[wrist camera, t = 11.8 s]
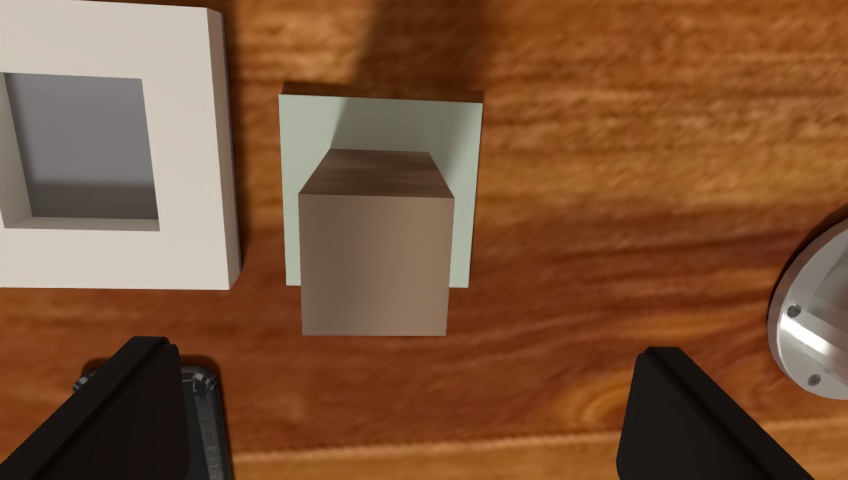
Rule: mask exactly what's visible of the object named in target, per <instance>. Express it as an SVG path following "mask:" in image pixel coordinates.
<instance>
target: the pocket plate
mask: <svg viewBox="0 0 848 480" xmlns="http://www.w3.org/2000/svg"><path fill="white" fill-rule="evenodd" d="M241 272H242V267H241V253H240V239H239V225H238V211H237V197H236V183H235V169H234V155H233V141H232V126H231V112H230V98H229V84H228V70H227V56H226V42H225V28H224V14H222V13H219V12H217V11H214V10H211V9H208V8H201V7H184V6H167V5H150V4H133V3H116V2H98V1H81V0H0V287H39V288H127V289H215V290H229V289H230V288H231V286H232V285H233V284H234V282H235V281H236V279H237V278H238V277H239V275H240V274H241Z"/></svg>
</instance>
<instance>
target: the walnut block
mask: <svg viewBox="0 0 848 480" xmlns="http://www.w3.org/2000/svg"><path fill="white" fill-rule="evenodd" d="M454 205H455V198H454V196H453V194H452V192H451V190H450V189H449V187H448V185H447V183H446V182H445V180H444V178H443V176H442V175H441V173H440V171H439V169H438V168H437V166H436V164H435V162H434V161H433V159H432V157H431V155H430V154H429V152H412V151H383V150H355V149H329V150H328V152H327V153H326V155H325V156H324V158H323V159H322V160H321V162H320V163H319V165H318V166H317V168H316V169H315V170H314V172H313V173H312V175H311V176H310V178H309V179H308V180H307V182H306V183H305V185H304V186H303V188H302V189H301V190H300V192H299V193H298V212H299V243H300V273H301V304H302V335H406V336H446V325H447V310H448V295H449V280H450V265H451V250H452V235H453V220H454Z"/></svg>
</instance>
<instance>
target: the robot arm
mask: <svg viewBox="0 0 848 480" xmlns="http://www.w3.org/2000/svg"><path fill="white" fill-rule="evenodd" d="M767 333H768V343H769V347H770V350H771V353H772V356H773V358H774V360H775V361H776V363H777V364H778V366H779V368H780V369H781V370H782V371H783V372H784V373H785V374H786V375H787V376H788V377H789V378H790V379H791V380H793V381H794V382H795V383H797V384H798V385H799V386H801V387H802V388H804V389H805V390H807V391H809V392H811V393H814V394H816V395H819V396H821V397H826V398H832V399H837V400H844V399H848V219H846V220H844V221H842V222H840V223H838V224H836V225H835V226H833V227H831V228H830V229H828V230H827V231H826V232H824V233H823V234H822V235H820V236H819V237H817V238H816V239H815V240H813V241H812V242H811V243H810V244H809V245H808V246H807V247H806V248H805V249H804V250H803V251H802V252H801V253H800V254H799V255H798V256H797V258H796V259H795V260H794V262H793V263H792V264H791V266H790V267H789V268H788V270H787V271H786V272H785V274H784V276H783V278H782V280H781V281H780V283H779V285H778V287H777V289H776V291H775V294H774V297H773V300H772V303H771V306H770V309H769V316H768V323H767ZM190 461H191V453H190V445H189V436H188V427H187V419H186V410H185V401H184V393H183V384H182V376H181V367H180V358H179V351H178V347H177V346H176V345H175V344H170V342H169V340H168V339H167V338H166V337H150V336H134V337H132V338H131V339H130V340H129V341H128V342H127V343H126V344H125V345H124V346H123V347H122V348H120V349H119V350H118V351H117V352H116V353H115V354H114V355H113V356H112V357H111V358H110V359H109V360H108V361H107V362H106V363H105V364H104V365H103V366H102V367H101V368H100V369H99V370H98V371H97V372H96V373H95V374H94V375H93V376H91V377H90V378H89V379H88V380H87V381H86V382H85V383H84V384H83V385H82V386H81V387H80V388H79V389H78V390H77V391H76V392H75V393H74V394H73V395H72V396H71V397H70V398H69V399H68V400H67V401H66V402H65V403H64V404H62V405H61V406H60V407H59V408H58V409H57V410H56V411H55V412H54V413H53V414H52V415H51V416H50V417H49V418H48V419H47V420H46V421H45V422H44V423H43V424H42V425H41V426H40V427H39V428H38V429H37V430H36V431H35V432H33V433H32V434H31V435H30V436H29V437H28V438H27V439H26V440H25V441H24V442H23V443H22V444H21V445H20V446H19V447H18V448H17V449H16V450H15V451H14V452H13V453H12V454H11V455H10V456H9V457H8V458H7V459H6V460H5V461H3V462H2V463H1V464H0V480H185V478H186V476H187V474H188V471H189V467H190ZM616 467H617V472H618V476H619V478H620V480H815V479H814V478H813V477H812V476H811V475H810V474H809V473H808V472H807V471H805V470H804V469H803V468H802V467H801V466H800V465H799V464H798V463H797V462H796V461H795V460H794V459H793V458H792V457H791V456H790V455H789V454H788V453H787V452H786V451H785V450H784V449H783V448H782V447H781V446H780V445H779V444H778V443H777V442H776V441H775V440H774V439H773V438H772V437H771V436H770V435H769V434H768V433H766V432H765V431H764V430H763V429H762V428H761V427H760V426H759V425H758V424H757V423H756V422H755V421H754V420H753V419H752V418H751V417H750V416H749V415H748V414H747V413H746V412H745V411H744V410H743V409H742V408H741V407H740V406H739V405H738V404H737V403H736V402H735V401H734V400H733V399H732V398H731V397H730V396H729V395H727V394H726V393H725V392H724V391H723V390H722V389H721V388H720V387H719V386H718V385H717V384H716V383H715V382H714V381H713V380H712V379H711V378H710V377H709V376H708V375H707V374H706V373H705V372H704V371H703V370H702V369H701V368H700V367H699V366H698V365H697V364H696V363H695V362H694V361H693V360H692V359H691V358H689V357H688V356H687V355H686V354H685V353H684V352H683V351H682V350H681V349H680V348H678V347H648V348H647V349H646V350H645V352H644V353H640V354H639V355H638V356H637V359H636V362H635V368H634V373H633V378H632V383H631V388H630V393H629V398H628V403H627V408H626V413H625V418H624V423H623V428H622V433H621V438H620V443H619V448H618V453H617V459H616Z"/></svg>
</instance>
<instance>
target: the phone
mask: <svg viewBox="0 0 848 480" xmlns="http://www.w3.org/2000/svg"><path fill="white" fill-rule="evenodd" d="M180 367H181V376H182V384H183V393H184V401H185V410H186V419H187V427H188V436H189V445H190V453H191V461H190V467H189V471H188V474H187V476H186V478H185V480H232V475H231V468H230V461H229V454H228V446H227V439H226V432H225V425H224V418H223V411H222V403H221V396H220V389H219V382H218V379H217V376H216V375H215V373H214V372H213V371H212V370H210V369H209V368H207V367H204V366H200V365H183V366H180ZM99 369H100V368H97V369H91V370H89V371H87V372H86V373H85V374H84V375H83V376H82V377H81V378H80V379H79V380H78V381H77V382H76V383H75V384H74V386H73V394H74V393H75V392H76V391H77V390H78V389H79V388H80V387H81V386H82V385H83V384H84V383H85V382H86V381H87V380H88V379H89V378H90V377H91V376H93V375H94V374H95V373H96V372H97V371H98V370H99Z"/></svg>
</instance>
